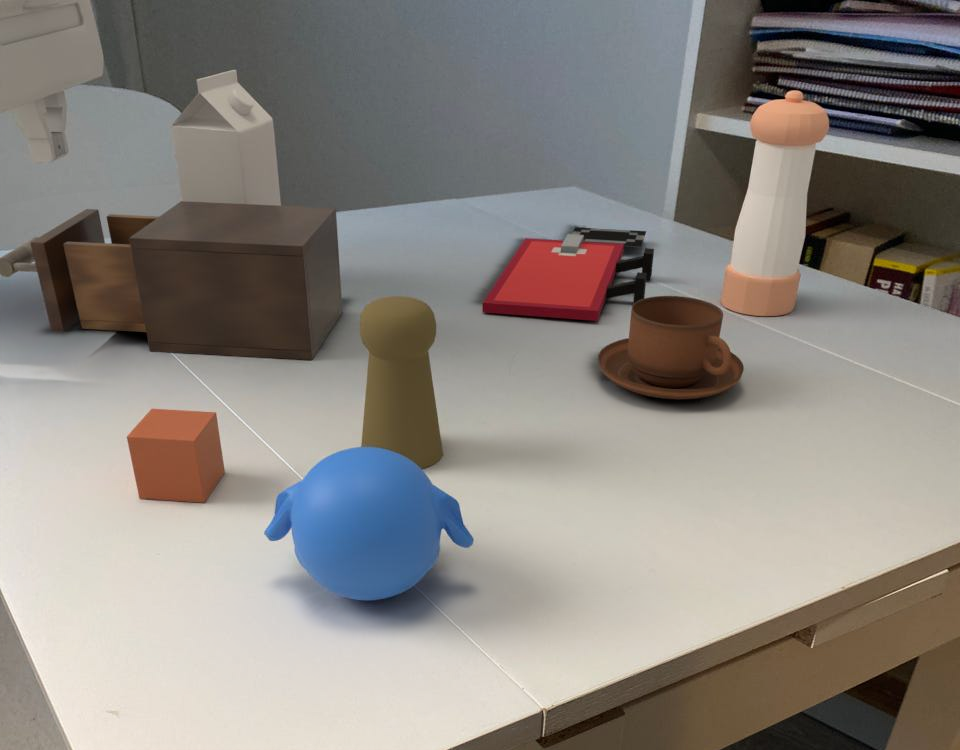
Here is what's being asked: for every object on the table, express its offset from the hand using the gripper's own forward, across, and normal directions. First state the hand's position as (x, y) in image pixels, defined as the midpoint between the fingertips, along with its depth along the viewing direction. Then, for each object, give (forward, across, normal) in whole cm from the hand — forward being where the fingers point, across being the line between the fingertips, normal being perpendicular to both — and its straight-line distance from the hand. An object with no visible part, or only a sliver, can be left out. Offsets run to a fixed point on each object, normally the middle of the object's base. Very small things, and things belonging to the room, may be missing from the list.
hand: (51, 159), depth 81 cm
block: (+15, +24, +16) cm, 33 cm away
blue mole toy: (+16, +34, +31) cm, 49 cm away
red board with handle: (+16, -27, +43) cm, 53 cm away
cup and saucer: (+16, +2, +50) cm, 53 cm away
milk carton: (+16, -20, +8) cm, 26 cm away
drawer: (+14, -6, +1) cm, 15 cm away
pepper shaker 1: (+16, +18, +30) cm, 39 cm away
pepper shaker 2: (+16, -20, +61) cm, 66 cm away
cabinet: (+15, -6, +13) cm, 21 cm away
